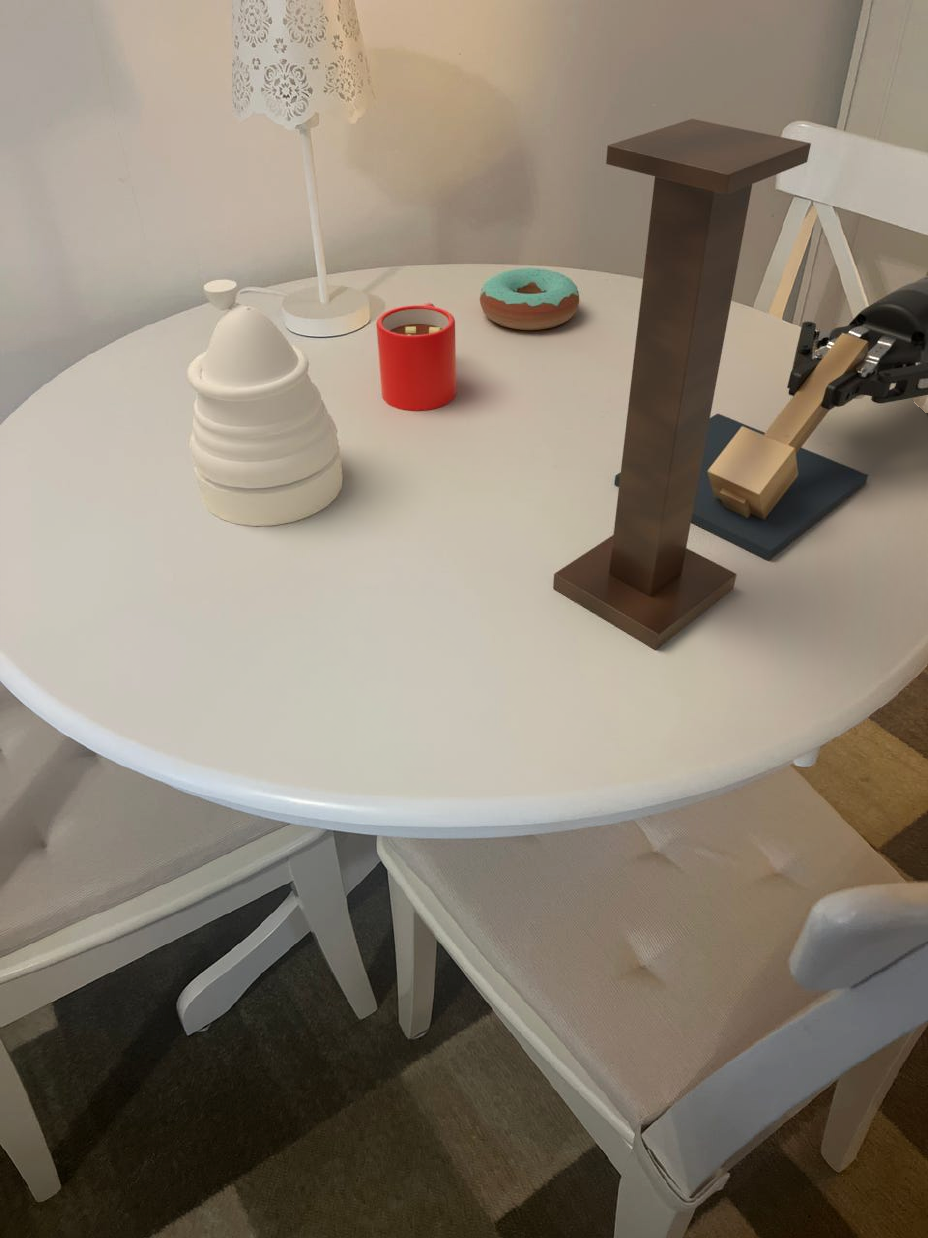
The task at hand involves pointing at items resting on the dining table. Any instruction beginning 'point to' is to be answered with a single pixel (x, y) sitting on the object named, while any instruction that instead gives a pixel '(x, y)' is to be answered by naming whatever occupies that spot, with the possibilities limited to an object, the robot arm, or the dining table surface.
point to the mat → (794, 512)
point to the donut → (529, 299)
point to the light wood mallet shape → (779, 439)
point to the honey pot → (259, 422)
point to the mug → (417, 357)
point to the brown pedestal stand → (675, 373)
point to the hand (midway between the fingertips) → (811, 391)
